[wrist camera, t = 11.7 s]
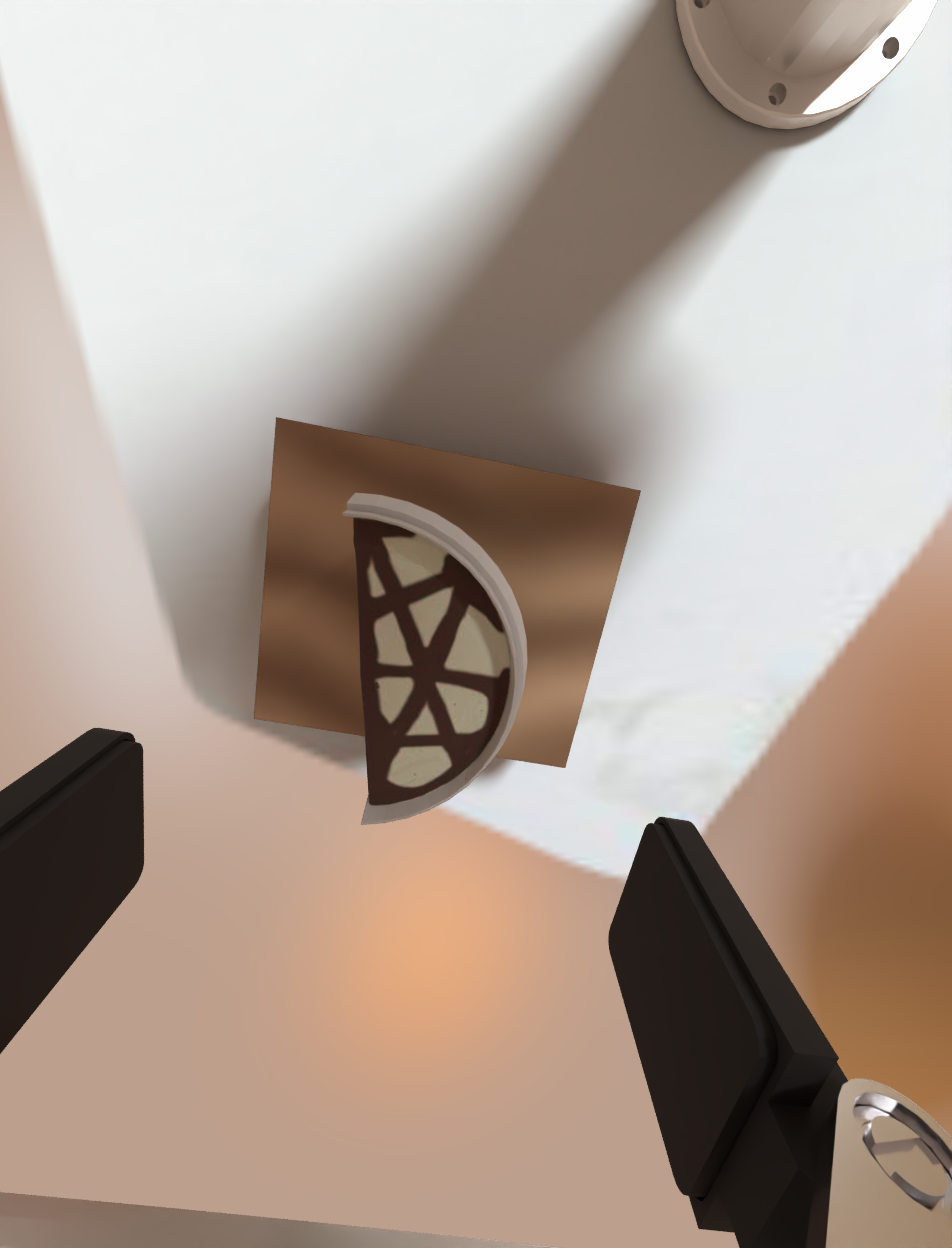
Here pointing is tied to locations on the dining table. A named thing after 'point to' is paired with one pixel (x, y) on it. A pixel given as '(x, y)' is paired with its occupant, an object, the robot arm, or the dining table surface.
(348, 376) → the dining table surface
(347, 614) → the walnut shelf
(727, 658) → the dining table surface
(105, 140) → the dining table surface
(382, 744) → the food container
